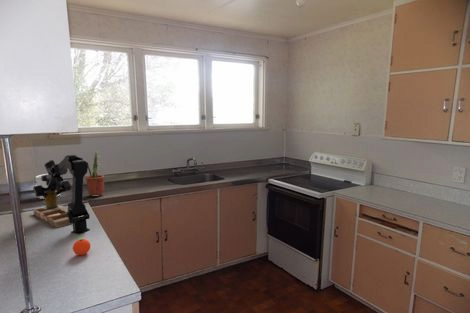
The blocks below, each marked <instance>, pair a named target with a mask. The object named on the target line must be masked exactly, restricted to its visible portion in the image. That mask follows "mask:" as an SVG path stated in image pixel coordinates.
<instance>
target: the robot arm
mask: <svg viewBox="0 0 470 313" xmlns="http://www.w3.org/2000/svg"><path fill="white" fill-rule="evenodd" d="M88 165H89V162H88V161H87V160H86V159H85V158H83V157H80V156H78V155H76V154H69V155H65V156H64V158H63V159H62V160H61V161H60V162H59V163H56V161H55V160H54V159H53V160H51V159H50V160H49V161H48V162H46V163H45V164H44V168H45V170H46V172H47V173H46V174H47V175H43V174H41V175H42V177H41V180H42V181H46V185H48V187H47V188H44V187H42V185H39V186H37V185H35V186H33V188H32V190H33V193H34V196H35V197H38V198H39V196H43V197H44V198H46V196H47V194H46V192H48V191H50V192H52V191H56V193H57V195H59V194H60V195H61V194H63V193H65V192H68V191H72V192H71V201H70V202H68V203H67V210H66V211H67V216H68V219H69V223H72V231H70V233H71V234H76V235H80V234H84V233H86V232H87V231H90V228H88V225H87V224H88V223H87V220H89V219H90V214H89V212H88V209H87V206H86V205H85V203H84V201H83V196H84V177H85V176H86V175H87V173H88V171H89V170H88ZM68 172H69V173H70V174H71V176H72V184H71V183H70V181H69V180H64V177H63V176H64V175H67V174H68ZM76 217H78V218H76ZM74 218H75V219H74Z"/></svg>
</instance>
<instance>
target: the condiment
mask: <svg viewBox="0 0 470 313" xmlns="http://www.w3.org/2000/svg"><path fill="white" fill-rule="evenodd" d="M46 194H47V196H46V198H45V200H44V201H45V207H46V208H44V207H43V208H44V209H57V208H62V207H64V205H59V202H58V198H57V193H56V191H52V192H50V191H48V192H46Z"/></svg>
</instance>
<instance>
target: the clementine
mask: <svg viewBox="0 0 470 313" xmlns="http://www.w3.org/2000/svg"><path fill="white" fill-rule="evenodd" d="M90 249H91V243H90V241H89V240H88V239H86V238H81V237H80V238H77V239H76V241H75V242H74V243H73V245H72V250H73V252H74V254H75V255H77V256H84V255H86V254H87V253H88V252H89V251H90Z"/></svg>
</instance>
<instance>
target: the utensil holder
mask: <svg viewBox="0 0 470 313" xmlns="http://www.w3.org/2000/svg"><path fill="white" fill-rule="evenodd" d="M47 174H48V173H44V174H39V175H37V176H35V180H36V186H39V185H42V187H44V188H47V187H48V185H46V181H42V180H41V177H42V175H47ZM59 195H60V196H61V194H59ZM59 195H57V196H59ZM38 198H44V197H43V196H39V197H38Z"/></svg>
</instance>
